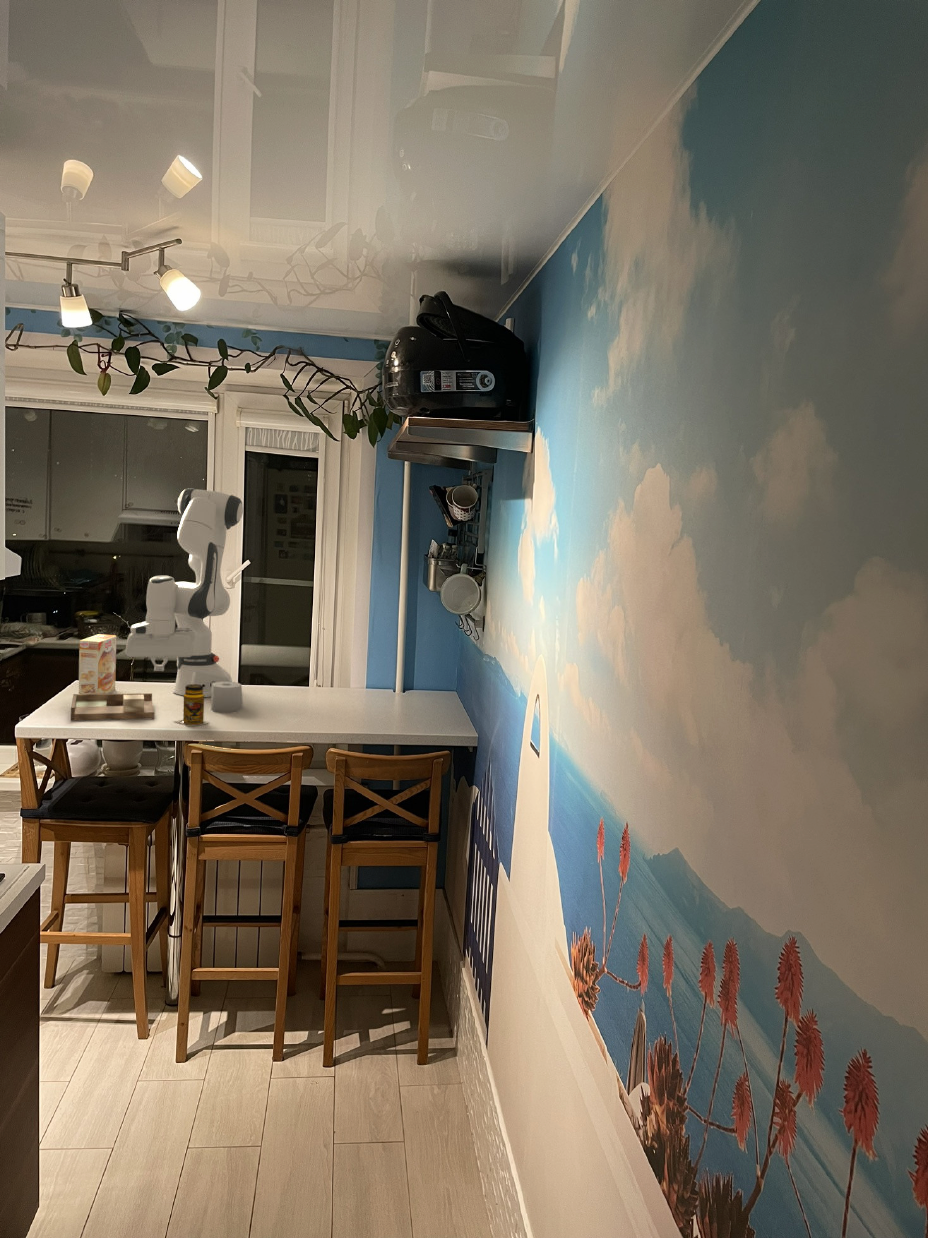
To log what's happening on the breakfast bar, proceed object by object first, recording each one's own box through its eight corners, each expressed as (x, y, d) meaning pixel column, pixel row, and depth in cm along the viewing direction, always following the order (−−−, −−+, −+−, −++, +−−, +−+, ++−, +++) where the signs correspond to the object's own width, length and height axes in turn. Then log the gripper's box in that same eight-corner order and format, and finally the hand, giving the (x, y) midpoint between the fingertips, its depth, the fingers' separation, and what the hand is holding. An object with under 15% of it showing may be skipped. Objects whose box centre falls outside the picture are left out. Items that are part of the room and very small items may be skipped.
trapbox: (151, 704, 303) (151, 693, 303) (153, 718, 286) (154, 706, 286) (73, 706, 294) (73, 694, 294) (70, 720, 278) (71, 707, 277)
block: (143, 706, 292) (143, 694, 291) (143, 711, 286) (144, 698, 286) (123, 707, 290) (123, 694, 289) (123, 711, 284) (123, 699, 284)
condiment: (191, 727, 280) (192, 689, 278) (173, 722, 284) (174, 684, 283) (210, 723, 286) (211, 685, 284) (192, 718, 290) (193, 681, 289)
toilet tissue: (246, 705, 312) (247, 680, 310) (234, 714, 299) (235, 688, 297) (221, 703, 312) (221, 678, 311) (207, 712, 299) (208, 686, 298)
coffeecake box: (98, 699, 306) (99, 641, 303) (77, 697, 306) (78, 640, 304) (116, 689, 321) (117, 635, 318) (96, 688, 321) (97, 633, 318)
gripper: (193, 626, 294) (192, 668, 296) (126, 625, 287) (125, 668, 288) (195, 629, 288) (193, 672, 290) (126, 628, 281) (125, 672, 282)
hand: (159, 670), depth 289 cm, fingers closed
